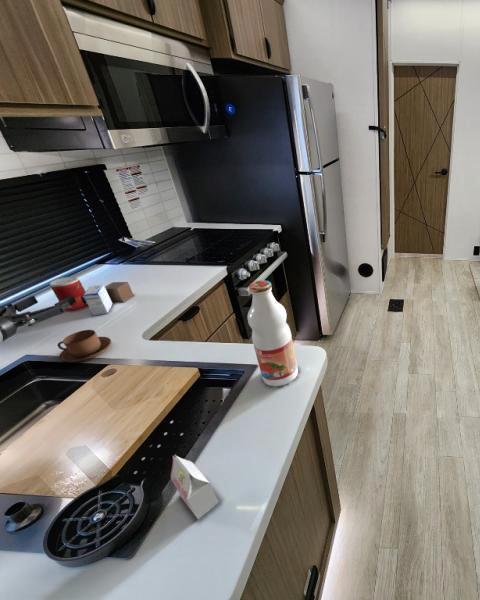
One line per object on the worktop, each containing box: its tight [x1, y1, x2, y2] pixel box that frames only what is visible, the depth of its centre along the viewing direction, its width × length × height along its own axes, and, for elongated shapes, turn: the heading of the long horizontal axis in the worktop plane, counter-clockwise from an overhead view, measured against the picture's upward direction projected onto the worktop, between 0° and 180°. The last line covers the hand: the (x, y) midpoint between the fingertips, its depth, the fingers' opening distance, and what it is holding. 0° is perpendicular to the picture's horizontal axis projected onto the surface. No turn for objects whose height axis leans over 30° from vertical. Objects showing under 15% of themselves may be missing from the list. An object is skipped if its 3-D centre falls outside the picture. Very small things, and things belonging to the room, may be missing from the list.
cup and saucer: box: [57, 329, 112, 363], centre depth 99 cm, size 12×12×6 cm
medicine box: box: [83, 284, 113, 316], centre depth 122 cm, size 8×4×9 cm, turn 27°
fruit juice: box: [246, 279, 299, 387], centre depth 84 cm, size 9×9×28 cm
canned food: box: [49, 276, 89, 312], centre depth 124 cm, size 8×8×11 cm
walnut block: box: [104, 281, 134, 303], centre depth 131 cm, size 6×6×6 cm
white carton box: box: [169, 454, 220, 520], centre depth 59 cm, size 4×7×10 cm, turn 53°
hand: (54, 298), depth 118 cm, fingers open, 13 cm apart
